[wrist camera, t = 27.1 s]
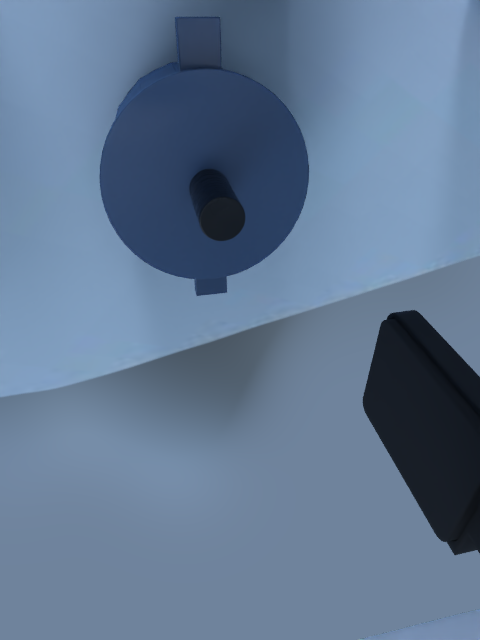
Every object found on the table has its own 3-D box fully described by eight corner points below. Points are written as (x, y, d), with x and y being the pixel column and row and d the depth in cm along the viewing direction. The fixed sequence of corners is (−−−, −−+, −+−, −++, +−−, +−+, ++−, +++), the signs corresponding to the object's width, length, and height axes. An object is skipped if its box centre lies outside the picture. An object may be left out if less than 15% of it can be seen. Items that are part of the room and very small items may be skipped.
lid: (313, 63, 25) (356, 77, 21) (296, 262, 33) (324, 306, 29) (78, 69, 23) (65, 86, 18) (120, 281, 31) (118, 331, 26)
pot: (273, 13, 30) (312, 16, 24) (265, 246, 40) (290, 290, 34) (89, 15, 28) (77, 18, 22) (131, 259, 38) (131, 308, 32)
